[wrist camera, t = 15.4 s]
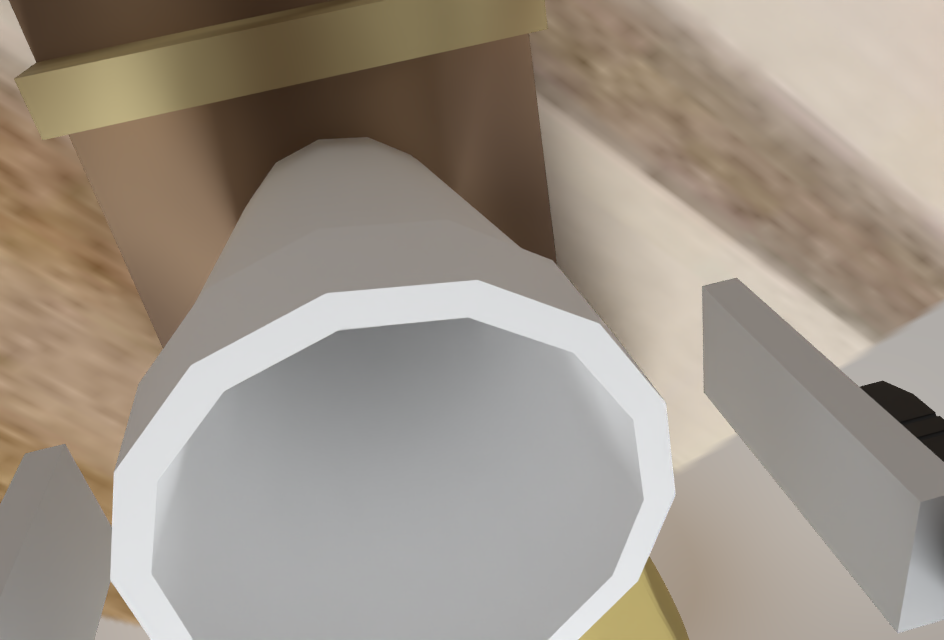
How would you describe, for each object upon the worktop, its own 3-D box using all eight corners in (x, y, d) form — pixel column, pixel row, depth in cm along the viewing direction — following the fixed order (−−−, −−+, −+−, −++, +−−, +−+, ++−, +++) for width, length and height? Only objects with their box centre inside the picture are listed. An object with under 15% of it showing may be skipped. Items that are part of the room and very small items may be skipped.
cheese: (286, 455, 29) (289, 686, 21) (541, 331, 29) (651, 513, 21) (403, 611, 35) (443, 846, 26) (619, 507, 35) (731, 710, 26)
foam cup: (551, 244, 26) (759, 515, 15) (343, 412, 27) (390, 775, 16) (358, 9, 21) (448, 144, 10) (118, 227, 22) (-36, 559, 11)
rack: (429, -638, 17) (462, -753, 14) (555, 336, 29) (586, 387, 26) (-212, -558, 15) (-330, -666, 12) (212, 427, 28) (204, 491, 25)
